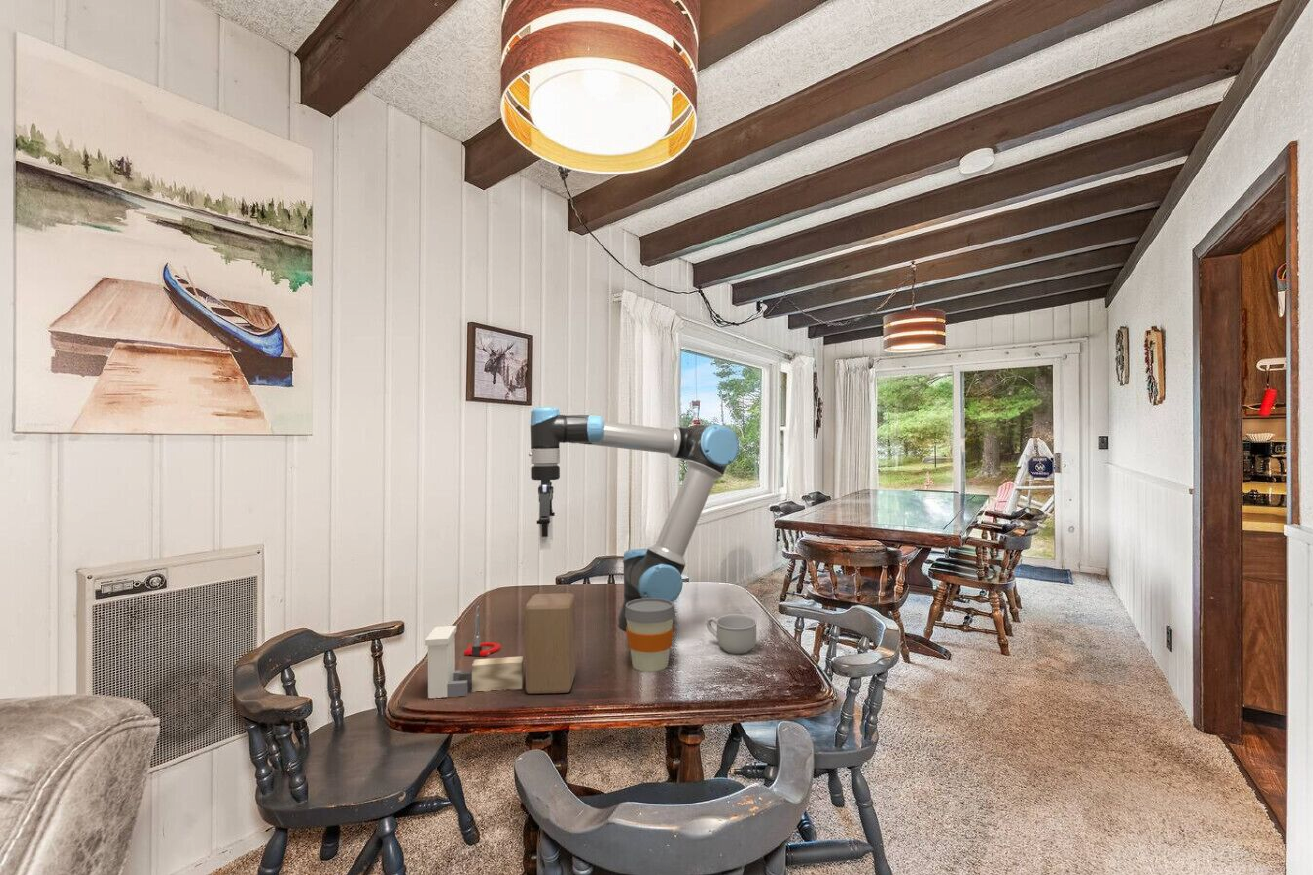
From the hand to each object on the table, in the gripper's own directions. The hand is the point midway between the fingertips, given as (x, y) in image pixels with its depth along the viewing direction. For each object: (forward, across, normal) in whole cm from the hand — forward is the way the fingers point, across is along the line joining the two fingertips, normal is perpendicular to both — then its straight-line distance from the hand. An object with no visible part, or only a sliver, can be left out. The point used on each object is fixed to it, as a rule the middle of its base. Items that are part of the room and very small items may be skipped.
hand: (546, 544), depth 150 cm
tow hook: (+29, -5, -17) cm, 34 cm away
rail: (+29, +20, -12) cm, 37 cm away
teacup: (+29, +6, +49) cm, 57 cm away
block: (+29, +21, +2) cm, 36 cm away
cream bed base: (+29, +20, -21) cm, 41 cm away
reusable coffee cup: (+29, +13, +26) cm, 41 cm away
